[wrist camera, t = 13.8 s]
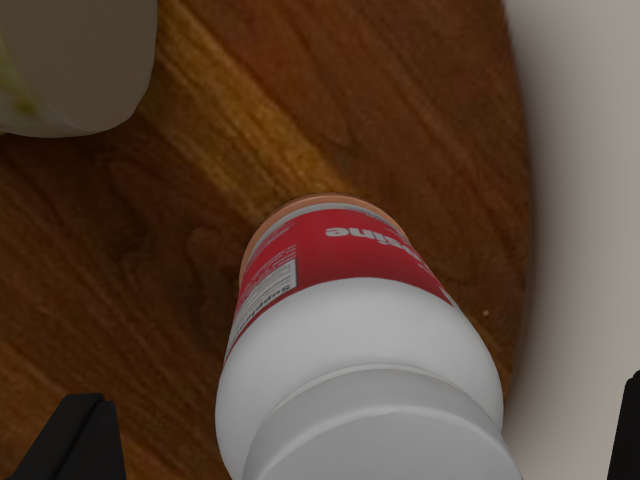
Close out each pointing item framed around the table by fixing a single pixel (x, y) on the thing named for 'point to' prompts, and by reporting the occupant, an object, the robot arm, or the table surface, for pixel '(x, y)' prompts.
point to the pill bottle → (354, 362)
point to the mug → (73, 64)
